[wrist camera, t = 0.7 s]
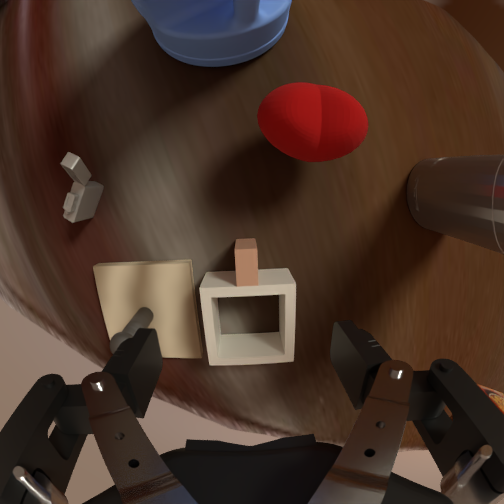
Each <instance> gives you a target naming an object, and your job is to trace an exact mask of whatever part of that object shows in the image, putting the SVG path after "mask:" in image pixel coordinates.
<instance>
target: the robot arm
mask: <svg viewBox="0 0 504 504" xmlns="http://www.w3.org/2000/svg"><path fill="white" fill-rule="evenodd" d="M407 202H408V206H409V209H410V212H411V214H412V216H413V218H414V219H415V221H416V222H417V223H418V224H419V225H420V226H422V227H424V228H425V229H429V230H432V231H435V232H439V233H442V234H445V235H448V236H451V237H454V238H457V239H460V240H464V241H467V242H470V243H473V244H476V245H479V246H481V247H484V248H487V249H490V250H493V251H496V252H498V253H501V254H504V155H480V156H460V157H444V158H433V159H425V160H423V161H420V162H419V163H418V164H417V165H416V166H415V167H414V168H413V170H412V171H411V174H410V176H409V179H408V183H407ZM330 358H331V362H332V365H333V367H334V368H335V370H336V372H337V374H338V376H339V378H340V380H341V382H342V384H343V386H344V388H345V390H346V392H347V394H348V396H349V398H350V400H351V402H352V404H353V406H354V408H355V410H357V409H361V412H360V414H359V416H358V418H357V420H356V422H355V425H354V427H353V429H352V431H351V433H350V435H349V437H348V439H347V441H346V443H345V445H344V447H341V446H338V445H335V444H330V443H323V442H316V440H315V436H314V434H309V435H302V436H294V437H285V438H280V439H278V440H274V441H270V442H266V443H262V444H258V445H254V446H245V445H238V444H232V443H227V442H222V441H212V440H188V439H187V441H186V447H185V448H180V449H176V450H172V451H169V452H166V453H163V454H161V455H159V454H158V453H157V451H156V450H155V448H154V446H153V445H152V443H151V442H150V440H149V439H148V437H147V436H146V434H145V432H144V431H143V429H142V427H141V425H140V424H139V422H138V420H137V419H136V417H137V418H144V416H145V413H146V410H147V408H148V405H149V402H150V399H151V397H152V394H153V391H154V389H155V386H156V383H157V381H158V378H159V375H160V373H161V370H162V363H163V362H162V354H161V350H160V345H159V340H158V335H157V331H156V329H155V328H138V330H137V331H136V333H135V334H134V336H133V337H132V338H128V339H126V340H125V341H123V342H122V343H121V344H120V345H119V347H118V348H117V351H115V352H114V354H113V356H112V357H111V358H110V360H109V361H108V363H107V364H106V366H105V367H104V369H103V370H102V372H95V373H92V374H89V375H88V376H86V377H85V378H84V379H83V381H82V383H81V384H78V385H77V384H76V385H66V384H65V382H64V380H63V378H62V377H61V376H60V375H57V374H48V375H45V376H43V377H41V378H40V379H38V380H37V382H36V383H35V384H34V385H33V387H32V388H31V390H30V391H29V392H28V393H27V395H26V396H25V397H24V399H23V400H22V402H21V403H20V404H19V406H18V407H17V408H16V410H15V411H14V413H13V414H12V415H11V417H10V418H9V420H8V421H7V423H6V424H5V426H4V427H3V429H2V430H1V432H0V504H68V500H67V498H66V496H65V495H64V494H65V492H66V489H67V486H68V483H69V480H70V477H71V475H72V472H73V469H74V467H75V464H76V462H77V459H78V457H79V454H80V451H81V449H82V447H83V444H84V442H85V439H86V437H87V435H88V434H94V436H95V439H96V442H97V444H98V447H99V449H100V452H101V454H102V457H103V459H104V461H105V464H106V466H107V468H108V470H109V473H110V475H111V477H112V479H113V481H114V483H115V485H114V486H112V487H110V488H109V489H107V490H105V491H104V492H102V493H100V494H98V495H97V496H95V497H93V498H91V499H90V500H88V501H86V502H84V503H82V504H497V503H498V502H499V501H500V500H502V499H503V498H504V414H503V413H502V412H501V411H500V409H499V408H498V407H497V406H496V405H495V404H494V403H493V401H492V400H491V399H490V398H489V397H488V396H487V395H486V394H485V393H484V391H483V390H482V389H481V388H480V387H479V386H478V385H477V384H476V383H475V382H474V381H473V380H472V379H471V377H470V376H469V375H468V374H467V373H466V372H465V371H464V370H463V369H462V368H461V367H460V366H459V365H458V364H457V363H456V362H454V361H452V360H449V359H437V360H435V361H434V362H432V364H431V367H430V370H427V371H413V369H412V367H411V366H410V365H409V364H407V363H406V362H403V361H400V360H392V359H391V358H390V356H389V355H388V354H387V353H386V352H385V350H384V349H383V348H382V347H381V346H380V344H379V343H378V342H377V341H375V339H374V337H373V336H372V335H371V334H370V333H368V332H366V331H365V330H363V329H358V328H357V327H356V325H355V324H354V323H353V322H352V321H351V320H347V321H338V322H335V323H334V325H333V332H332V341H331V349H330ZM446 405H447V407H448V408H449V409H450V411H451V412H452V415H453V422H452V420H451V419H450V418H449V416H448V415H447V413H446V412H445V410H444V408H445V406H446ZM53 421H54V422H55V424H56V425H55V427H54V429H53V431H52V433H51V435H50V437H49V439H48V429H49V427H50V425H51V423H52V422H53ZM406 421H413V423H414V425H415V427H416V428H417V430H418V432H419V434H420V435H421V437H422V439H423V441H424V442H425V444H426V446H427V448H428V450H429V452H430V453H431V455H432V457H433V459H434V461H435V463H436V464H437V466H438V468H439V470H440V472H441V474H442V476H443V478H442V480H441V485H440V486H441V493H440V492H438V491H435V490H433V489H430V488H427V487H425V486H422V485H420V484H417V483H415V482H413V481H410V480H408V479H406V478H404V477H401V476H399V475H397V474H395V473H393V472H391V471H392V468H393V465H394V462H395V459H396V456H397V453H398V450H399V446H400V443H401V439H402V436H403V432H404V428H405V424H406Z"/></svg>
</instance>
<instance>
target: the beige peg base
mask: <svg viewBox="0 0 504 504" xmlns="http://www.w3.org/2000/svg"><path fill="white" fill-rule="evenodd" d="M93 270H94V275H95V280H96V285H97V290H98V295H99V299H100V303H101V308H102V312H103V316H104V320H105V323H106V327H107V331H108V334H109V338H110V350H111V352H112V354H114V352H115V351H117V348H118V347H119V345H120V344H121V343H122V342H123V341H125V340H126V339H128V338H132V337H133V336H134V334H135V333H136V331H137V330H138V328H155V329H156V331H157V335H158V340H159V345H160V350H161V354H162V357H167V358H202V354H203V347H202V340H201V334H200V326H199V319H198V311H197V303H196V295H195V286H194V277H193V267H192V259H189V260H166V261H142V262H117V263H98V264H97V265H95V266H93Z"/></svg>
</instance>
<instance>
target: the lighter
mask: <svg viewBox="0 0 504 504" xmlns="http://www.w3.org/2000/svg"><path fill="white" fill-rule="evenodd" d="M60 164H61V166H62V167H63V168H64V169H65V170H66V172H67V173H68V174H69V175H70V177H71V178H72V179H73V180H74V181H75V182H74V183H73V186H72V189H71V192H70V193H68V194H67V197H66V200H65V203H64V207H63V208H64V209H65V211H64V215H63V216H64V218H66V219H67V220H69V221H71V222H72V223H74V222H77V221H81V220H85V219H89V218H93V217H94V214H95V211H96V208H97V205H98V202H99V199H100V197H101V194H102V191H103V189H104V186H103V185H102V184H100V183H98V182H96V181H88V180H89V179H90V177H91V176H92V175H91V173H90V172H89V170H88V169H87V167H86V166H85V164H84V163H83V161H82V160H81V158H80V157H78V156H76V155H74V154H72V153H70V152H68V153H67V155H66V156H65V157H64V159H63V160H62V162H61V163H60Z"/></svg>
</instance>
